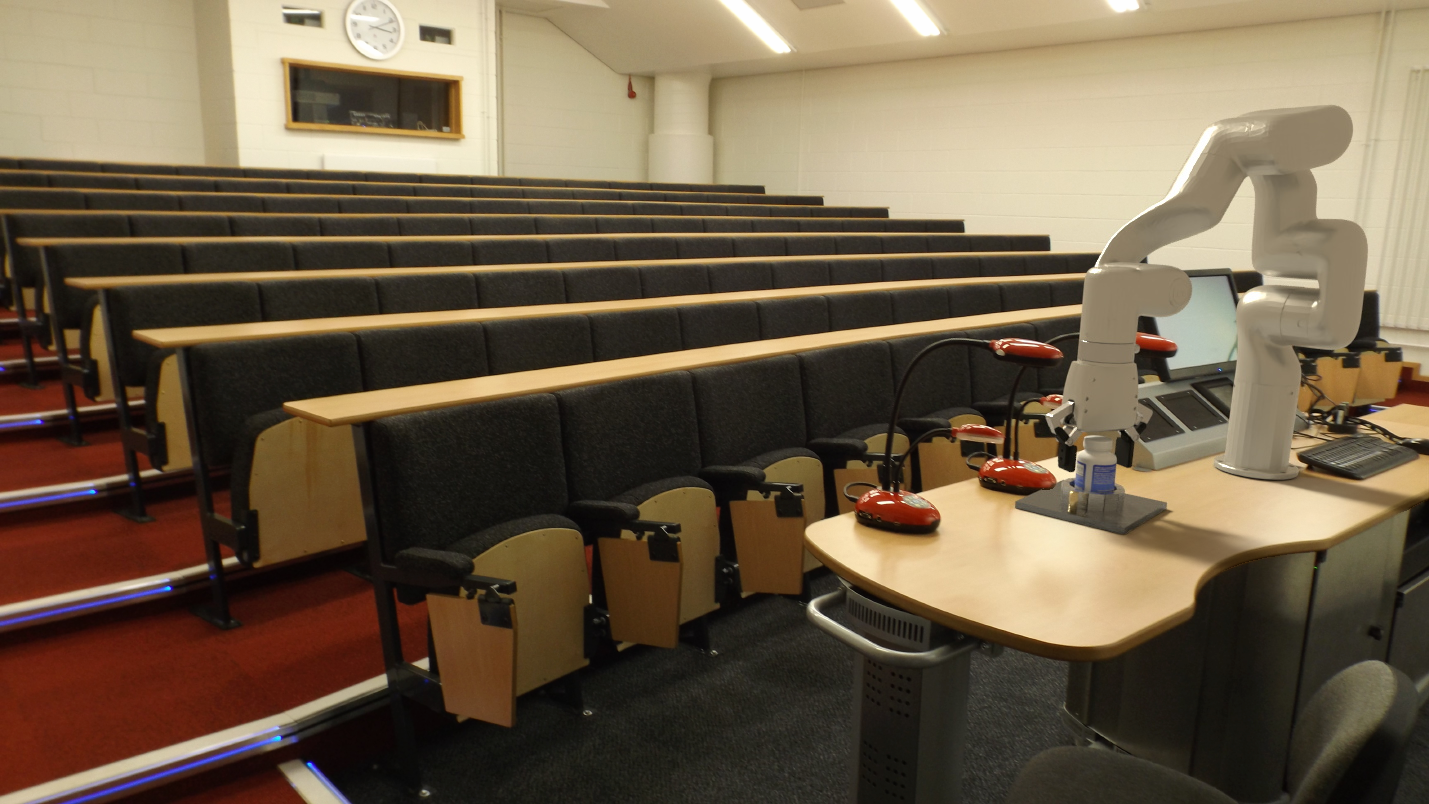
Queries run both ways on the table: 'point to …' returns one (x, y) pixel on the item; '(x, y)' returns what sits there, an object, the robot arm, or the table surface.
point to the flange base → (1093, 517)
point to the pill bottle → (1096, 465)
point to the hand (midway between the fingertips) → (1094, 467)
